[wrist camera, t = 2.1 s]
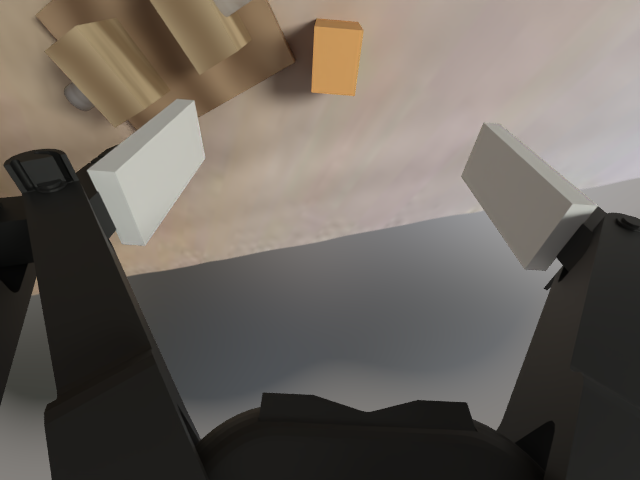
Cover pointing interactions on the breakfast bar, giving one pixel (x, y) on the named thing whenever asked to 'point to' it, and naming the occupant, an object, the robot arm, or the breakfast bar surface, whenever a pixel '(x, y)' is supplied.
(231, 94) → the shaft bench
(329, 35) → the orange rectangular block
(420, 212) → the breakfast bar surface
